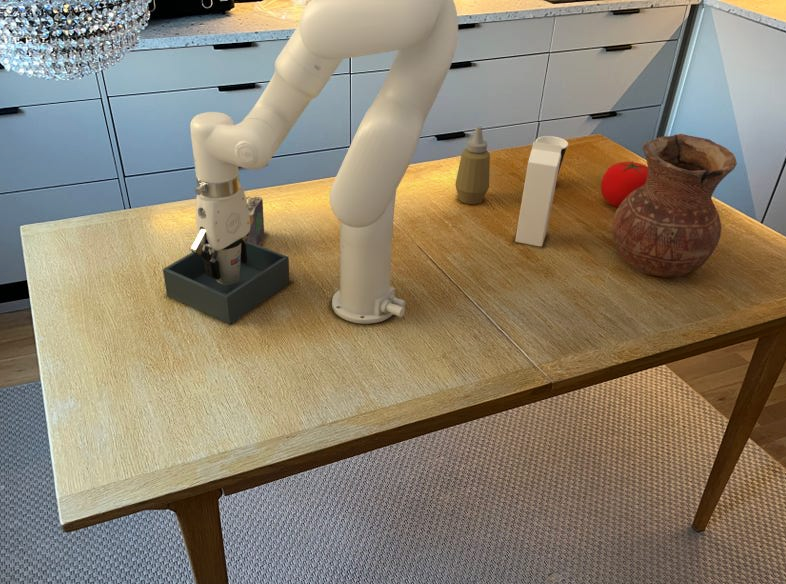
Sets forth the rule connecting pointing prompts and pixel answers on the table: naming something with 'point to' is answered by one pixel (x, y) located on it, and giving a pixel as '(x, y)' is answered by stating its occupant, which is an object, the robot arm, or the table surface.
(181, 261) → the tub
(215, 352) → the table surface
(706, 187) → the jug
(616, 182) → the tomato
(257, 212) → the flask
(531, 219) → the milk
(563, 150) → the dixie cup
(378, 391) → the table surface
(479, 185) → the squeeze bottle
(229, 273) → the coffee cup
